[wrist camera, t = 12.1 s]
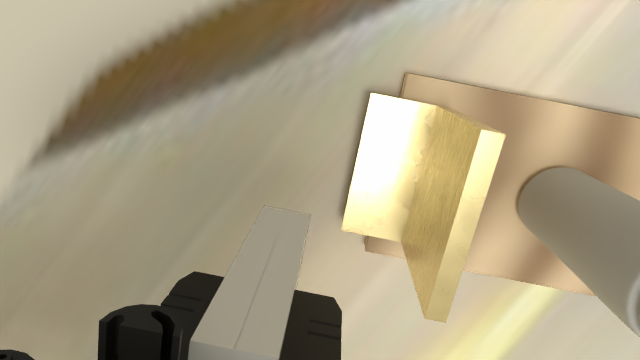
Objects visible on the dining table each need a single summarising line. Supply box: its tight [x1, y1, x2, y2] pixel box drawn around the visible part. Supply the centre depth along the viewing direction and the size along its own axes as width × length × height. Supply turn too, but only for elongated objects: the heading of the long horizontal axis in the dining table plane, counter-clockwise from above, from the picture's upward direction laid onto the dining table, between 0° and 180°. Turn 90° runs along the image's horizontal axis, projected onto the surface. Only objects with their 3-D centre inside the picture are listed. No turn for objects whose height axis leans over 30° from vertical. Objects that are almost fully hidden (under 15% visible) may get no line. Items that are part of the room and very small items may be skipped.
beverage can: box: [518, 167, 640, 337], centre depth 21 cm, size 5×5×12 cm
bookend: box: [341, 92, 506, 323], centre depth 23 cm, size 5×9×9 cm, turn 169°
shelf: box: [365, 73, 640, 296], centre depth 22 cm, size 24×12×12 cm, turn 79°
